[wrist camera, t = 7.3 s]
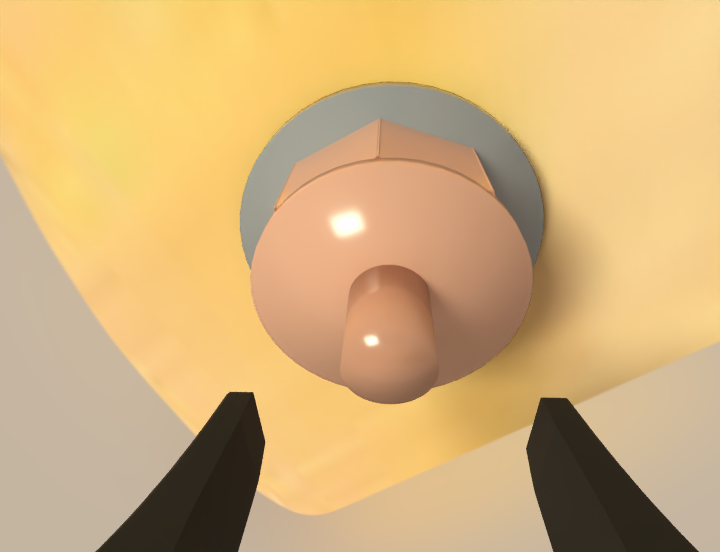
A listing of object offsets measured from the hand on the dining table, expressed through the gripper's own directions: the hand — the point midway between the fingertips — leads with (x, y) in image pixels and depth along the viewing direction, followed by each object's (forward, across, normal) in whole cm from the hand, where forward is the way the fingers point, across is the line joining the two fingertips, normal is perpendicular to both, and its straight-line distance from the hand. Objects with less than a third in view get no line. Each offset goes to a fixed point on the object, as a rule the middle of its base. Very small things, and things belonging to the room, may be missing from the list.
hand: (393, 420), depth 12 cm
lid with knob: (+10, 0, 0) cm, 10 cm away
